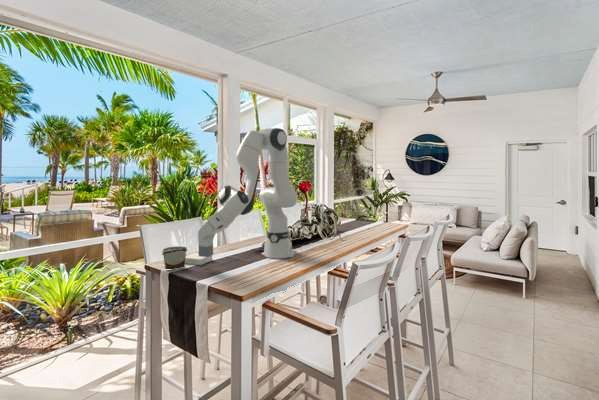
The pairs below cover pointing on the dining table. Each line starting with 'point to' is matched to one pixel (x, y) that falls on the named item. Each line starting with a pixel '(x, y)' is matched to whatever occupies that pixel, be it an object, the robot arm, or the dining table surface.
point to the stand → (197, 259)
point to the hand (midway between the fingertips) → (204, 238)
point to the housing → (205, 246)
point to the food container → (174, 257)
